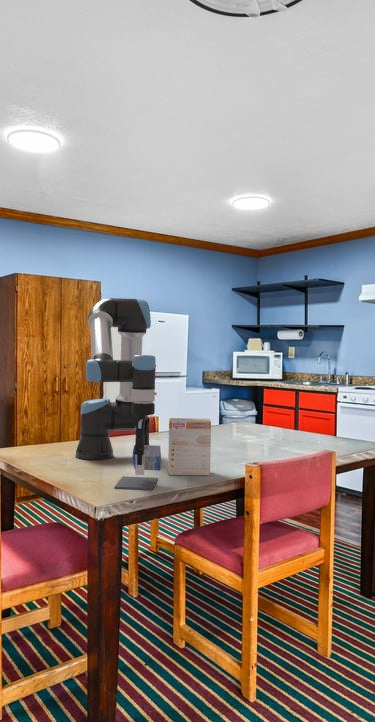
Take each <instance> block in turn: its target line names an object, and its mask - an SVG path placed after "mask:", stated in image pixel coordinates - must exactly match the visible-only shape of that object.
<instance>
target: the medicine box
mask: <svg viewBox="0 0 375 722" xmlns="http://www.w3.org/2000/svg"><path fill="white" fill-rule="evenodd" d="M138 450H141V449H138ZM133 452H135V444H134V446H133V450H132V461H133V468H134V470H135V466H136V454H133ZM144 454H145V456H144V471H157V472H158V471H159V472H160V471H161V469H162V452H161V445H150V444H149V445H144Z"/></svg>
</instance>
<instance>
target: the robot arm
mask: <svg viewBox="0 0 375 722" xmlns="http://www.w3.org/2000/svg"><path fill="white" fill-rule="evenodd" d="M151 319H152V318H151V310H150V305H149V302H148V301H147V300H145V299H139V298H121V297H120V298H118V297H108V298H105V299H102V300H100V301H99V302H96V303H95V304H94V305H93V307H92V308H91V309H90V311H89V313H88V316H87V326H88V328H89V329H90V352H91V354H90V355H91V357H90V358H91V359H87V360H86V363H85V379H86V381H88V382H93V383H95V382H96V383H119V393H118V394H117V396H115V401H113V402H112V401H111V399H110V398H106V397H105V398H96V399H90V400H85V401H84V402H82V403H81V407H80V408H81V409H80V413H79V414H80V438H79V440H78V444H77V446H76V449H75V457H76V458H78V459H81V460H90V461H93V460H104V459H105V460H107V459H111V458H113V457H114V450H113V446H112V442H111V439H110V431H131V432H133V431H135V439H134V440H135V444H134V445H135V452H133V451H132V455H133V454H136V466H135V469H134V470H135V473H134V474H135V476H144V475H145V470H144V456H145V454H144V445H150V422H151V421H150V417H149V416H152V415H155V413H156V412H155V411H156V407H155V406H156V404H155V401H156V400H155V399H156V397H155V396H157V392H155V391H156V368H157V363H156V362H157V361H156V360H157V359H156V357H155V355H151V354H143V338H144V336H145V335H146V334H147V329H150V328H151V326H152V325H151V323H152V321H151ZM112 328H117V333H118V334H119V335H120V340H121V341H120V360H119V359H114V354H113V353H114V352H113V342H112V341H113V340H112V338H113V337H112ZM138 449H141V450H138Z"/></svg>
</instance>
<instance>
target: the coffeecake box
mask: <svg viewBox="0 0 375 722" xmlns="http://www.w3.org/2000/svg"><path fill="white" fill-rule="evenodd" d="M211 438H212V421H211V419H210V418H185V417H184V418H179V417H178V418H175V417H173V418H171V417H170V418H169V421H168V457H167V461H168V463H167V464H168V465H167V466H168V467H167V474H168V476H169V475H170V476H211V446H212V444H211V440H212V439H211Z"/></svg>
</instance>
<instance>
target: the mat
mask: <svg viewBox="0 0 375 722" xmlns="http://www.w3.org/2000/svg"><path fill="white" fill-rule="evenodd" d="M158 479H159V478H158V477H154V476H153V477H152V476H149V477H148V476H125V475H124V476H122V477H121V478H120V479H119V480H118V482H117V483H116V484H115V486H114V489H116V490H117V489H118V490H139V491H140V490H143V491H153V490H154V488H155V486H156V484H157V482H158Z"/></svg>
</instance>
